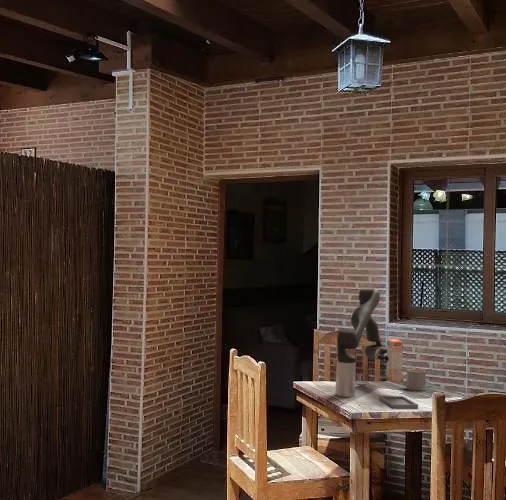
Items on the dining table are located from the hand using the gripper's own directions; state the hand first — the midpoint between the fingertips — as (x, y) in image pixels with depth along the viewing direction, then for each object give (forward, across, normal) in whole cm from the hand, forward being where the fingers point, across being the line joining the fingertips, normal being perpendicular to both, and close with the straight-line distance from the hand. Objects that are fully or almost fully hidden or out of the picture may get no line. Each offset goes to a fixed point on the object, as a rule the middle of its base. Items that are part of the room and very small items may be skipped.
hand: (394, 359), depth 348 cm
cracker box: (+2, 0, +11) cm, 11 cm away
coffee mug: (-20, +18, +19) cm, 33 cm away
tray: (+20, -5, +19) cm, 28 cm away
